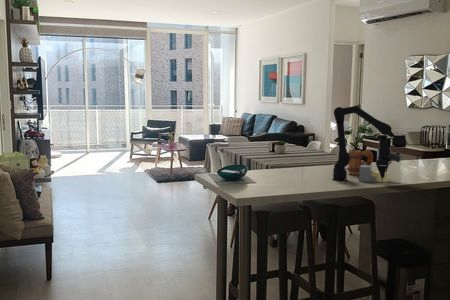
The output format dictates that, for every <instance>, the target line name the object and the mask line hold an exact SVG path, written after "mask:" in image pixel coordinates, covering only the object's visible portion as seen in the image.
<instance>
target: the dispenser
mask: <svg viewBox="0 0 450 300" xmlns="http://www.w3.org/2000/svg"><path fill="white" fill-rule="evenodd" d="M371 172H373V165H372V164H371V165H361V166H360V172H359V174H358V175H359V177H358V178H359V179H358V180H359V182H365V181H366V182H367V183H370V182H371V183H373V182H374V183H377V182H376V178H377V177H371Z"/></svg>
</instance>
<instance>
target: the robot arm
mask: <svg viewBox="0 0 450 300" xmlns="http://www.w3.org/2000/svg"><path fill="white" fill-rule="evenodd" d="M351 114H356V115H357V116H359V117H360V118H362V119H363V120H364V121H366V122H367V123H369V124H371V125H372V126H373V127H374V128H375V129H376V130H377V131H378V132H380V133H379V134H377V136H375V139H376V140H378V157H377V160H375V165H376V168H377V170H378V172H379V173H380V175H381V178H384V175H385V172H387V173H388V168H389V166H390V165H391V164H392V162H393V161H395V162H396V163H400V162H401V159H402V157H403V156H402V154H401V153H400V152H399V151H396V152H392V149H391V147H393V148H395V149H401V148H402V149H405V148H406V147H407V138H406V135H405V134H400V135H399V134H395V133H394V132H392V127H391V125H390V124H388V123H387V122H384V121H382V120H379V119H377V118H376V117H374V116H373V115H371V114H370V113H368V112H366V111H365V110H363V109H362V108H361V107H360V106H359V105H353V106H347V107H342V106H338V107H336V108H335V109H334V110H333V115H334V116H333V117H334V119H335V122H336V127H337V140H338V158H337V160H336V162H334V164H333V166H334V167H333V170H332V171H333V173H332V175H333V176H332V180H333V181H341V182H342V181H344V182H345V181H346V180H347V179H348V170H347V166H349V160H350V156H349V155H350V152H349V151H347V150H348V149H347V144H346V142H347V141H346V132H345V119H346V118H345V116H347V115H351ZM380 134H381V135H380Z"/></svg>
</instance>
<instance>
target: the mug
mask: <svg viewBox="0 0 450 300" xmlns="http://www.w3.org/2000/svg"><path fill="white" fill-rule="evenodd" d="M348 152H350V155H349V156H350V160H349V164H348V167H346V171H347V174H349V175H351V174H352V175H351V176H355V175H356V176H358V175H359V172H360V166H361V165H372V163H373V161H374V154H373V153H372V150H370V149H368V148H367V149H365V150H364V151H363V150H362V151H361V149H358V150H357V149H354V150H353V149H349V151H348ZM364 157H367V160H366V162H362V158H364Z"/></svg>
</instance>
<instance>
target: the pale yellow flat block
mask: <svg viewBox="0 0 450 300" xmlns="http://www.w3.org/2000/svg"><path fill="white" fill-rule="evenodd" d="M371 177H377V178H376V182H375V183H377V182H379V183H387V180H388V171H387V172H385V175H384V178H381V175H380V173H379V171H372V172H371Z"/></svg>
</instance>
